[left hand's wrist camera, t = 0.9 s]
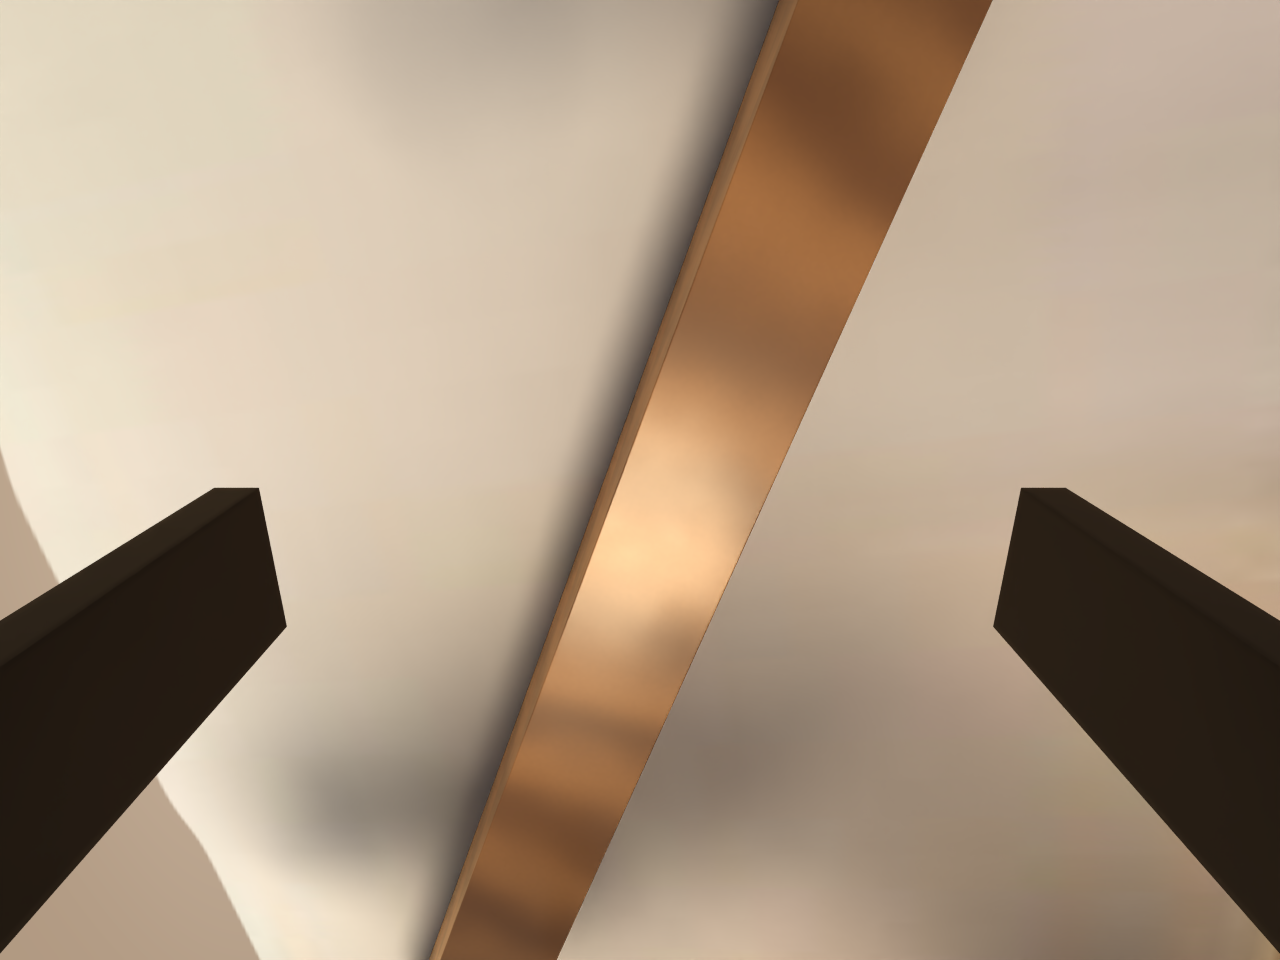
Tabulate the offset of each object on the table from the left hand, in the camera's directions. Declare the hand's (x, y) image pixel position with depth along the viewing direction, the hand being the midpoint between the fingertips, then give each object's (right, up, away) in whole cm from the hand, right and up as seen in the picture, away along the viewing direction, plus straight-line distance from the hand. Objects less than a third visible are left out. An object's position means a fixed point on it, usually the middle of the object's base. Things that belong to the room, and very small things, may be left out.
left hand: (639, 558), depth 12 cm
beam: (0, -2, +25) cm, 25 cm away
